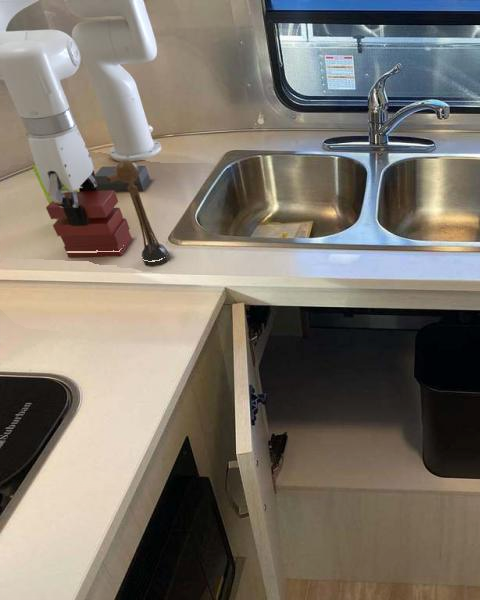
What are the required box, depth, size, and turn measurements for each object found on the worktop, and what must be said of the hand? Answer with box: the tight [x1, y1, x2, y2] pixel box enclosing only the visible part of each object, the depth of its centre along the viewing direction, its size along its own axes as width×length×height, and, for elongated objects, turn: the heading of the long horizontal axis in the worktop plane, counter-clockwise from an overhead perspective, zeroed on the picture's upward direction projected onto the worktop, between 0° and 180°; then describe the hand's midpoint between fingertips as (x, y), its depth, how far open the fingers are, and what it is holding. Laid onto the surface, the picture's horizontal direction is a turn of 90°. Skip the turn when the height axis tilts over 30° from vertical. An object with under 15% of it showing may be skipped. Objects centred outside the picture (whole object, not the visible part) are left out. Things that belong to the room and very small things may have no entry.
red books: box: [52, 207, 133, 258], centre depth 106 cm, size 10×6×7 cm, turn 92°
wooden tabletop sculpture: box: [106, 160, 171, 268], centre depth 99 cm, size 6×5×20 cm
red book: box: [45, 190, 119, 220], centre depth 103 cm, size 10×6×2 cm, turn 92°
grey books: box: [94, 165, 151, 193], centre depth 128 cm, size 10×5×4 cm, turn 92°
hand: (87, 214), depth 104 cm, fingers closed on red book, 6 cm apart
